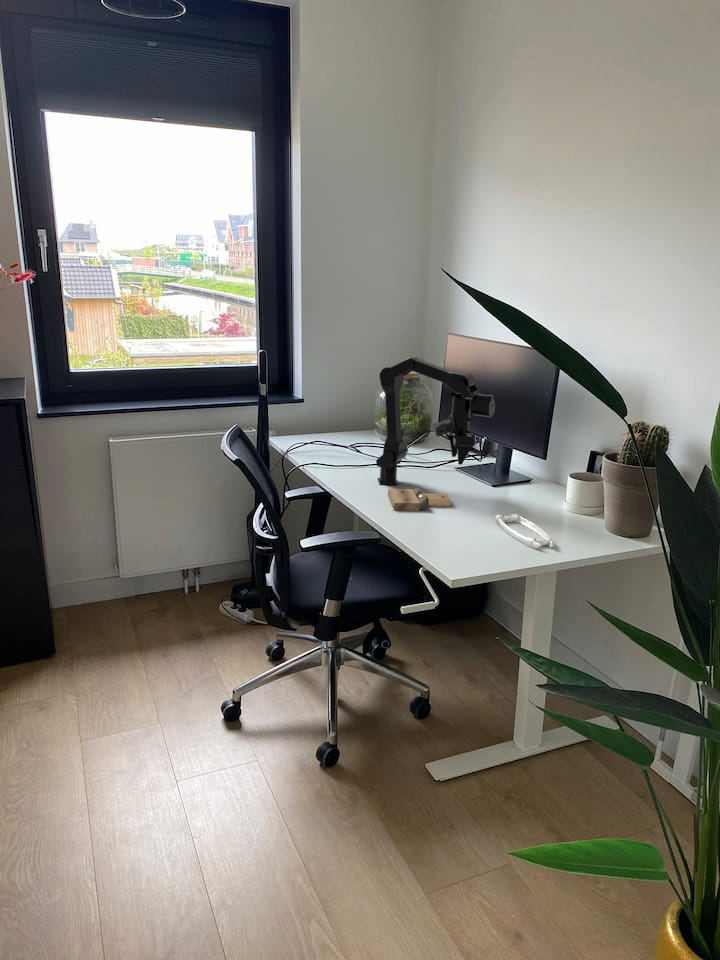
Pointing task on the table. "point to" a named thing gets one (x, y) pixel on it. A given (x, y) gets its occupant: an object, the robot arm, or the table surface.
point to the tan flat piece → (407, 499)
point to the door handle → (527, 541)
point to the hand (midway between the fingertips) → (456, 460)
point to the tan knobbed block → (436, 499)
